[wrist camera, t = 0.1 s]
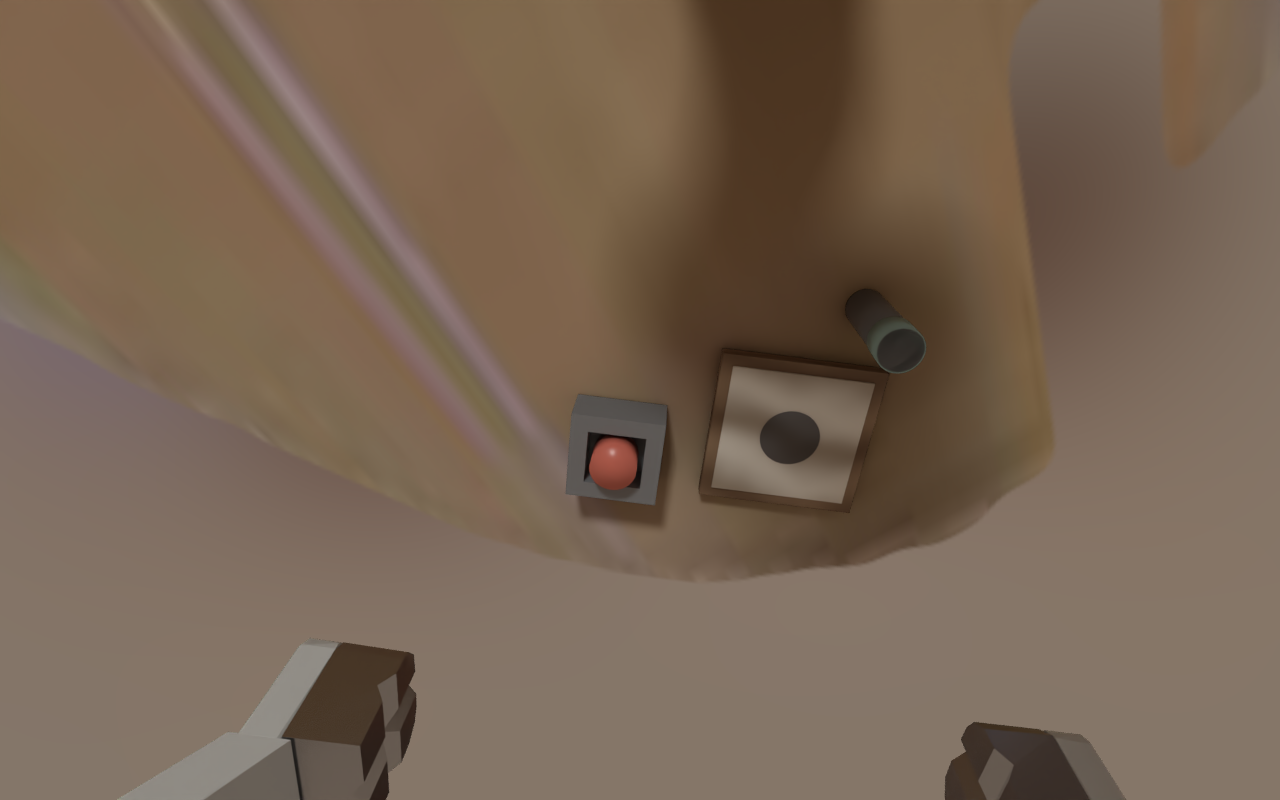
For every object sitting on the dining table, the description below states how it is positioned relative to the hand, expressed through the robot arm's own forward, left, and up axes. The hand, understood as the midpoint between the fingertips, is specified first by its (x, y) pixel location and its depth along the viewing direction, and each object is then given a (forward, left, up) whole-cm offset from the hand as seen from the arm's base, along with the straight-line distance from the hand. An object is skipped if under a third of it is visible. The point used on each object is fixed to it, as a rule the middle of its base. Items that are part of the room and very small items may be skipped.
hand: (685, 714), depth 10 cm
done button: (+21, -3, -45) cm, 50 cm away
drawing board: (+18, +12, -48) cm, 52 cm away
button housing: (+21, -3, -48) cm, 52 cm away
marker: (+6, +16, -48) cm, 51 cm away
